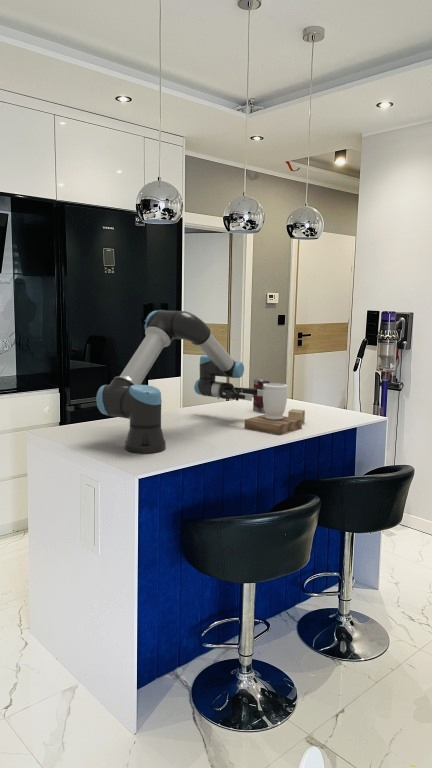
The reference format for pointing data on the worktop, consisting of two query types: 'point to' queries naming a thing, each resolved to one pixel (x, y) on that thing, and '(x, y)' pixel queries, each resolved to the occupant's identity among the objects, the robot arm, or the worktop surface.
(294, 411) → the oak cube
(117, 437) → the worktop surface
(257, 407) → the supplement box
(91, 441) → the worktop surface
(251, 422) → the walnut slab
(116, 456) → the worktop surface
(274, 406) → the jar
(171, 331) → the robot arm
